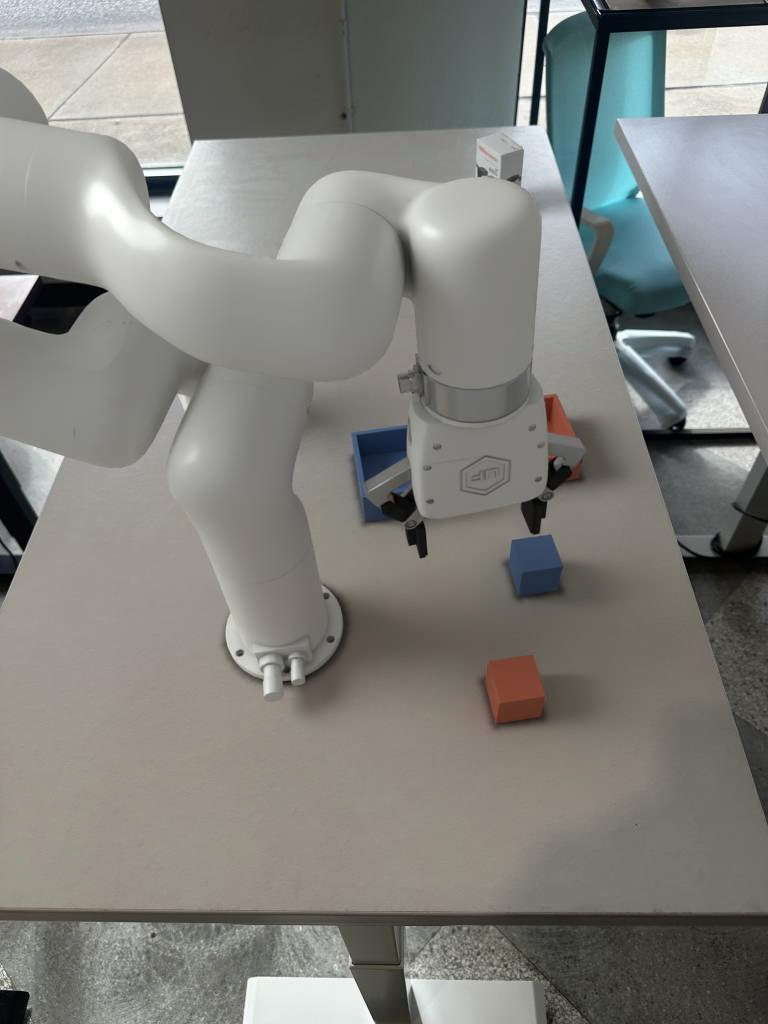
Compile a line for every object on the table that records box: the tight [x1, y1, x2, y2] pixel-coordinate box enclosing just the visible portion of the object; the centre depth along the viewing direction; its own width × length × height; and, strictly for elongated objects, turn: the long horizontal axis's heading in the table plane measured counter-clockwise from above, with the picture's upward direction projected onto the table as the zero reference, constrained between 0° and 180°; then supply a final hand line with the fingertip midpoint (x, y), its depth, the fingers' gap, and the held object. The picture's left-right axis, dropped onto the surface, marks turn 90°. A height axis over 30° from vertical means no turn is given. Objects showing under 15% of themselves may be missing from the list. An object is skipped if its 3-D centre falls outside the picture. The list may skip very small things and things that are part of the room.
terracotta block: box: [484, 654, 547, 725], centre depth 71 cm, size 4×4×4 cm
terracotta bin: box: [543, 393, 584, 481], centre depth 93 cm, size 11×11×4 cm
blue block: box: [507, 533, 564, 597], centre depth 80 cm, size 4×4×4 cm
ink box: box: [474, 131, 525, 187], centre depth 131 cm, size 8×5×12 cm, turn 25°
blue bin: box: [351, 424, 412, 523], centre depth 90 cm, size 11×11×4 cm
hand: (475, 533), depth 62 cm, fingers open, 9 cm apart
